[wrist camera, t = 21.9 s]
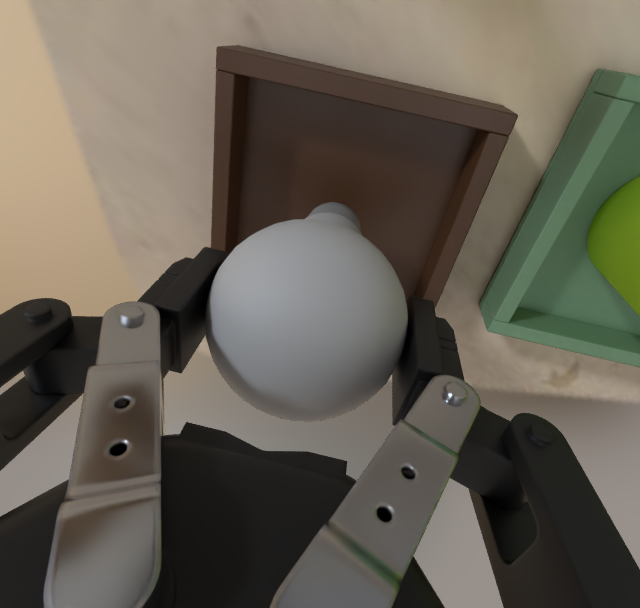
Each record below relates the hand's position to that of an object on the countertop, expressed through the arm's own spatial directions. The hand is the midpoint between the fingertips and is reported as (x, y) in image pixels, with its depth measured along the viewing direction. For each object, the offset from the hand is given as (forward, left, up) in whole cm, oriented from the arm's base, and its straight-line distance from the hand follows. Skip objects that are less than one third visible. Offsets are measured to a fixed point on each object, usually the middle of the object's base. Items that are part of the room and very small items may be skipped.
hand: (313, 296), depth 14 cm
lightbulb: (0, 0, -7) cm, 7 cm away
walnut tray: (0, 0, -9) cm, 9 cm away
